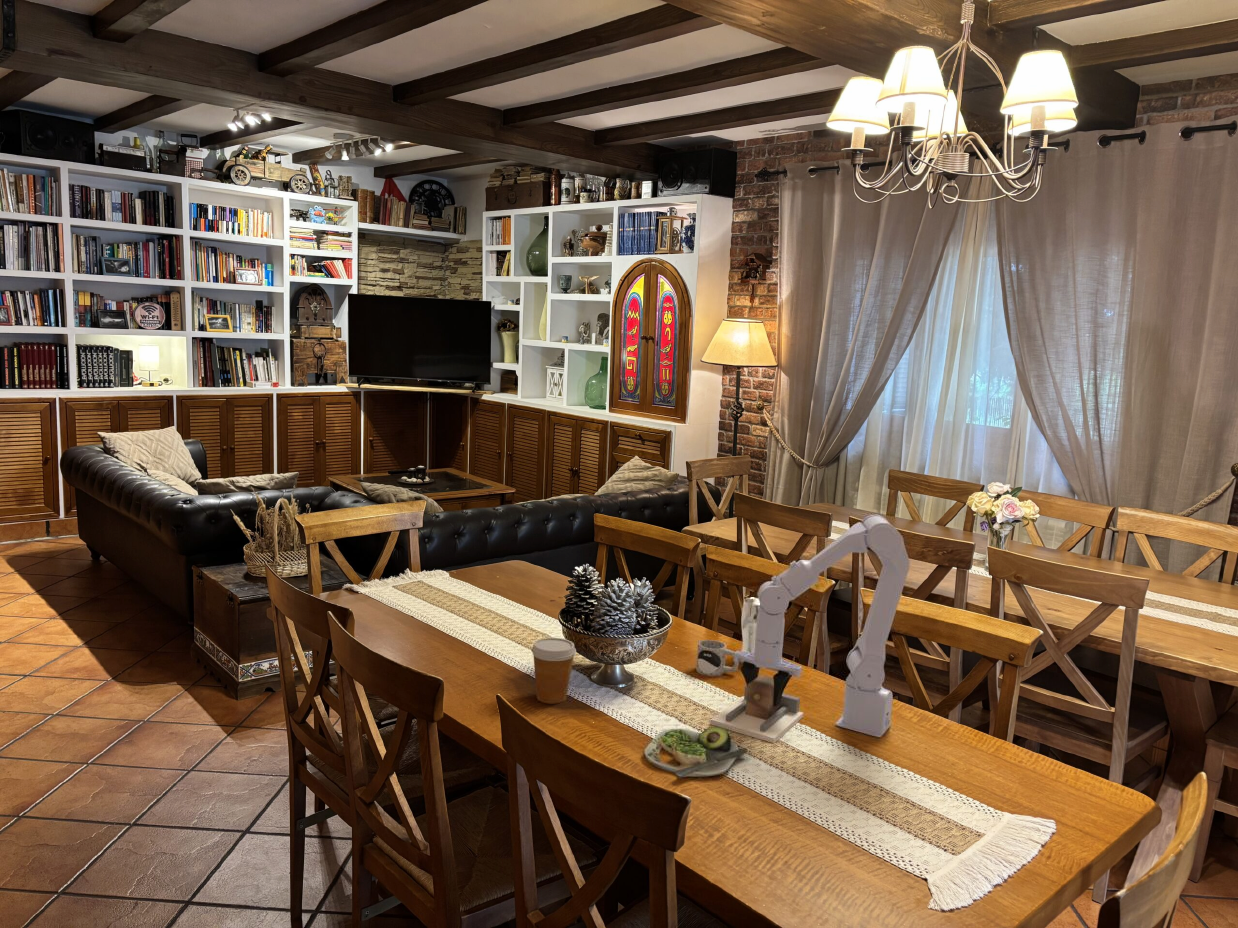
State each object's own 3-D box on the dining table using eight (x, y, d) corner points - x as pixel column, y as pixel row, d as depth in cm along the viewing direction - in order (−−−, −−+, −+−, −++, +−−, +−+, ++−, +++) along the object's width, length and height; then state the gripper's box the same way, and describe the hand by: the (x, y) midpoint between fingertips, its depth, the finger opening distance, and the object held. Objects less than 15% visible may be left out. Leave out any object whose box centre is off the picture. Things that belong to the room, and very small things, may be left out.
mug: (693, 673, 215) (695, 646, 214) (699, 664, 222) (701, 638, 221) (734, 680, 212) (736, 653, 211) (740, 671, 218) (742, 644, 218)
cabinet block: (780, 709, 194) (782, 680, 193) (765, 721, 187) (768, 691, 186) (758, 703, 197) (760, 674, 196) (743, 715, 190) (746, 685, 189)
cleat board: (802, 717, 193) (804, 699, 193) (773, 743, 180) (775, 723, 179) (742, 700, 201) (743, 682, 200) (710, 723, 187) (711, 705, 186)
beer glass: (734, 660, 226) (738, 601, 224) (743, 652, 232) (748, 595, 230) (761, 666, 223) (766, 607, 220) (770, 658, 229) (775, 600, 227)
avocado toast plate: (721, 796, 158) (723, 771, 158) (627, 771, 165) (628, 747, 165) (752, 753, 176) (754, 730, 175) (666, 732, 183) (667, 710, 182)
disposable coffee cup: (522, 692, 198) (525, 639, 196) (562, 687, 202) (565, 635, 200) (539, 709, 189) (542, 654, 188) (580, 703, 194) (583, 649, 192)
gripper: (729, 636, 191) (724, 698, 193) (795, 652, 183) (789, 716, 185) (743, 628, 197) (738, 688, 198) (807, 643, 189) (801, 705, 191)
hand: (764, 701), depth 192 cm, fingers closed on cabinet block, 5 cm apart
